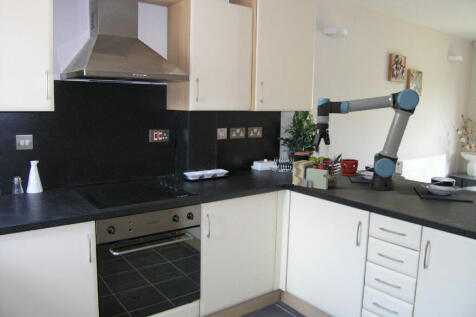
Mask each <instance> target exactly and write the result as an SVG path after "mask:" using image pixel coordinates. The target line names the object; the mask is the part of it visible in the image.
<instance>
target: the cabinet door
mask: <svg viewBox="0 0 476 317" xmlns="http://www.w3.org/2000/svg"><path fill="white" fill-rule="evenodd" d="M306 179H308V183H307V187H306V188H310V187H309V180H312V187H311V188H315V189H320V190H328V187H329V170H327V169H320V168H319V169H318V168H314V167H313V168H307V173H306Z"/></svg>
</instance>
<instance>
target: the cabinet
mask: <svg viewBox="0 0 476 317" xmlns="http://www.w3.org/2000/svg"><path fill="white" fill-rule="evenodd" d="M314 163H315V161H311V160H309V161H306V160H302V161H297V162H292V184H294V186H299V187H303V186H302V183H303V177H306V173H307V168H313V169H314V166H315V165H314ZM292 184H291V185H292Z"/></svg>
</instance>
